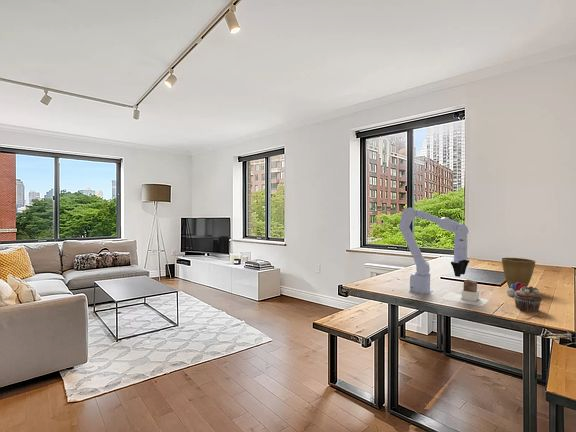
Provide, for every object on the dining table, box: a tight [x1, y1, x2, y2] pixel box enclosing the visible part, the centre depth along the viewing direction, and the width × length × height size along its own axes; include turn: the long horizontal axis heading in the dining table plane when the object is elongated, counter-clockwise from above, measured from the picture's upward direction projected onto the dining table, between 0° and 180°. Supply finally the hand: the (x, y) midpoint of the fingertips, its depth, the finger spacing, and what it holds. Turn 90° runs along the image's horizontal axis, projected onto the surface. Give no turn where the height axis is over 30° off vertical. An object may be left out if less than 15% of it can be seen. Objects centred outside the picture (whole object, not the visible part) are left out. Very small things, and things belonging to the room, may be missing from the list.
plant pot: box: [501, 257, 536, 289], centre depth 178 cm, size 15×15×16 cm
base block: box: [460, 288, 480, 302], centre depth 157 cm, size 6×6×4 cm
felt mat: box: [439, 292, 490, 307], centre depth 157 cm, size 18×14×1 cm
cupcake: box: [513, 286, 543, 313], centre depth 143 cm, size 10×10×10 cm
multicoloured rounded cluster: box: [506, 282, 528, 297], centre depth 162 cm, size 8×10×7 cm
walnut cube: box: [463, 279, 478, 292], centre depth 157 cm, size 4×4×4 cm
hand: (459, 275), depth 165 cm, fingers open, 7 cm apart
